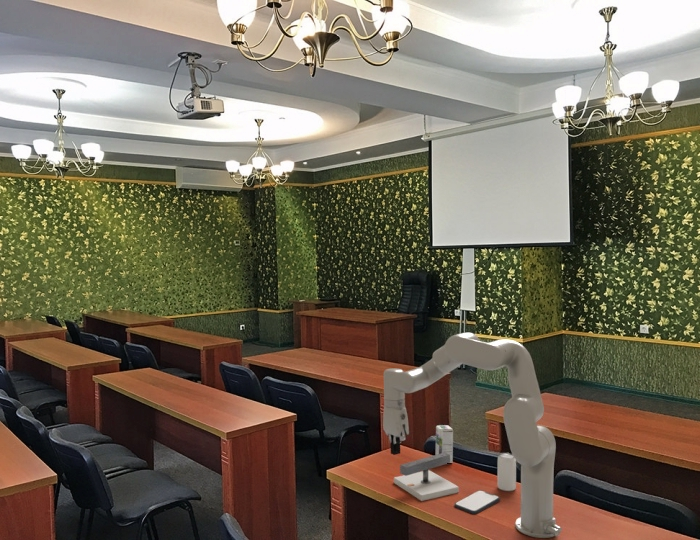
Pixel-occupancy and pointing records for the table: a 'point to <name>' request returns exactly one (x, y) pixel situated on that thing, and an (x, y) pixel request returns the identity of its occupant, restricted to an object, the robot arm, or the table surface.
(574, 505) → the table surface
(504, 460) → the can
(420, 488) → the key plate
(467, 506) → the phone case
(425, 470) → the t key
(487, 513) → the table surface
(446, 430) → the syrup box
